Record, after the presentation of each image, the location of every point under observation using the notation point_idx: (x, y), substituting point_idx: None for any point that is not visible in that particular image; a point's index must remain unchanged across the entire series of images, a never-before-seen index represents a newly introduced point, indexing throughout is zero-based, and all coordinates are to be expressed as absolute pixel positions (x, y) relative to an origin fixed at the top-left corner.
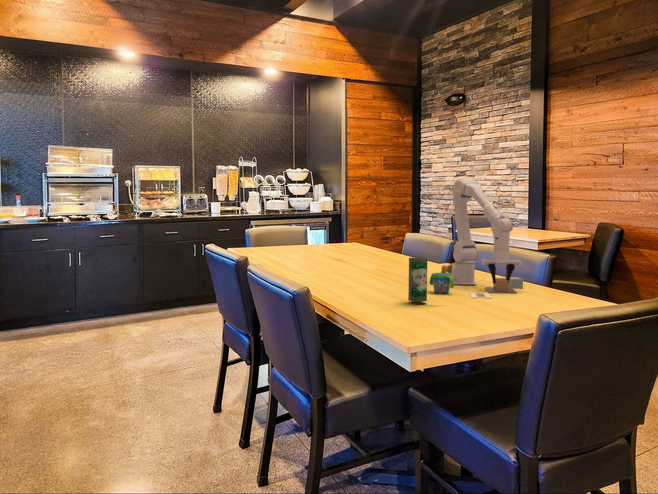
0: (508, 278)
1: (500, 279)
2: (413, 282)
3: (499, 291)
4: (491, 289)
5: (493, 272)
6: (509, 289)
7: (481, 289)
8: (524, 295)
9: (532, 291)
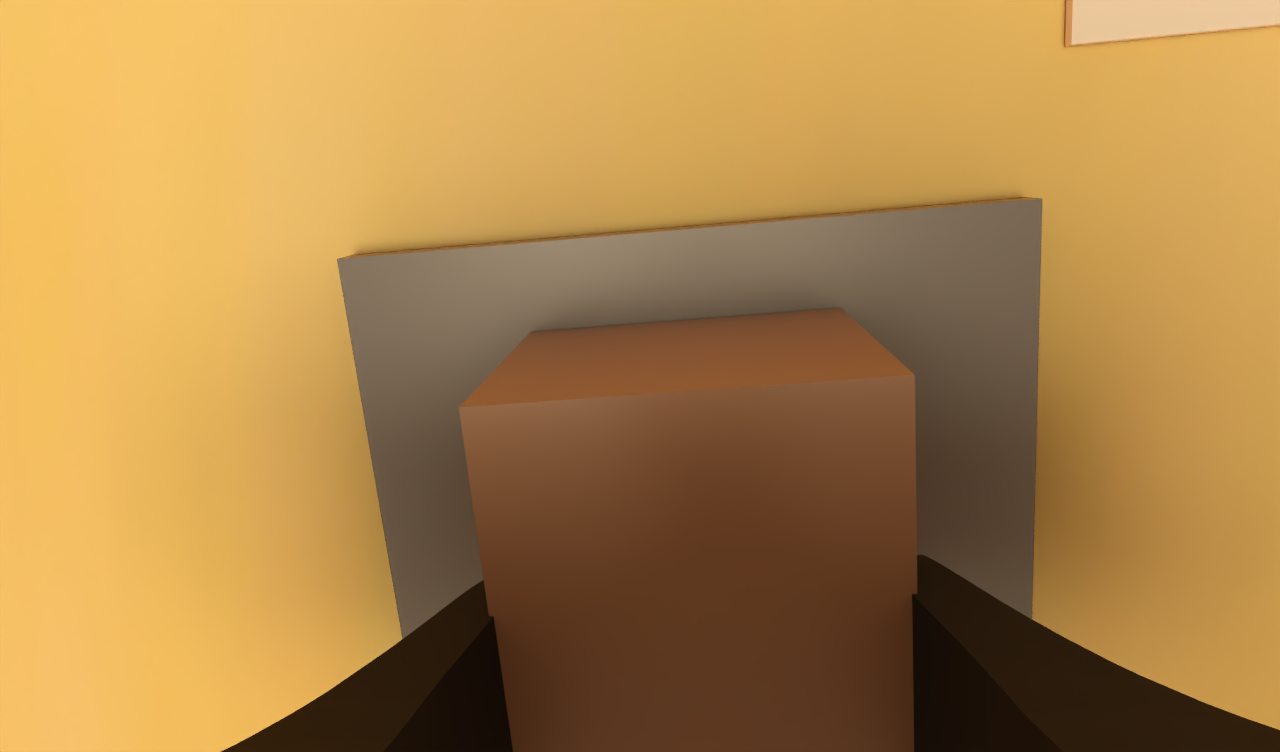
0: (439, 642)
1: (724, 671)
2: None
3: (758, 234)
4: (930, 511)
5: (1155, 725)
6: None
7: None
8: (161, 12)
9: (20, 638)
